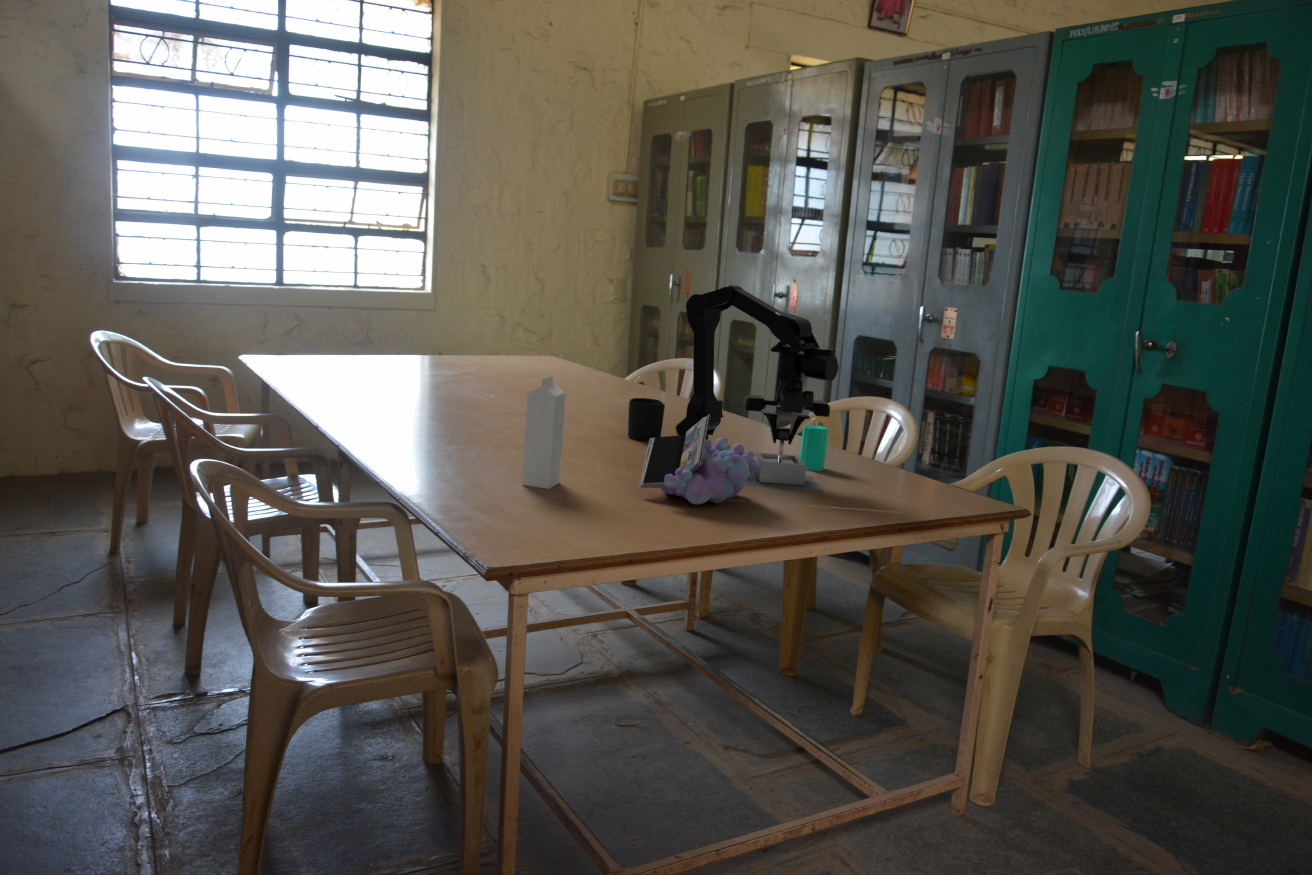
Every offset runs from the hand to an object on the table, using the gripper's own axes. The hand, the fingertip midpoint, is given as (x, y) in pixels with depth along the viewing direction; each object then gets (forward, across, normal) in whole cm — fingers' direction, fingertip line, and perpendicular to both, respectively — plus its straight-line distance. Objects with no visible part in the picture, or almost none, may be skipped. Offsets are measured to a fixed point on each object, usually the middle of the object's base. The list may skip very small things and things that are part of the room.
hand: (781, 443), depth 212 cm
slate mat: (+9, 0, 0) cm, 9 cm away
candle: (+9, +11, +16) cm, 21 cm away
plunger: (+5, 0, 0) cm, 5 cm away
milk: (+9, -52, -18) cm, 56 cm away
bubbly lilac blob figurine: (+9, -20, -21) cm, 30 cm away
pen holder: (+9, -29, +39) cm, 49 cm away
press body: (+8, -1, 0) cm, 9 cm away
